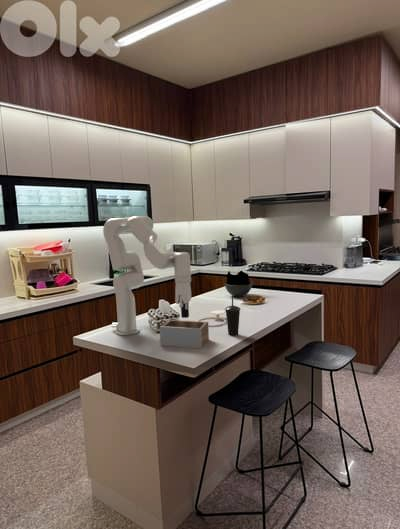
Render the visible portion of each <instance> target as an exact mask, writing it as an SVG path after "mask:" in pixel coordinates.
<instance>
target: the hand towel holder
mask: <svg viewBox="0 0 400 529" xmlns="http://www.w3.org/2000/svg"><path fill="white" fill-rule="evenodd" d="M210 313H211V314H212V315H216V316H207V317H202V318H198V319H197V320H196V321H200V322H202V321H204V320H209V319H214V320H221V321H223V322H222V323H217V324H208V328H215V327H221V326H223V325H225V324H226V323H227V319H225V318H223V317H220V316H221V315H223V314H225V310H222V309H221V310H219V309H217V310H212V311H210Z"/></svg>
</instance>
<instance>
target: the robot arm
mask: <svg viewBox="0 0 400 529" xmlns="http://www.w3.org/2000/svg"><path fill="white" fill-rule="evenodd" d="M153 229H154V222H153V219H152V218H151V217H149V216H147V215H136V216H131V217H114V218H109V219H108V220H107V221H105V223H104V225H103V227H102V231H103V237H104V240H105V242H106V245H107V249H108V254H109V258H110V262H111V266H112V268H113V269H114V270H115V271H124V272H121V273H118V274H117V275H115V276H114V278H113V279H112V280H113V281H112V283H113V290H114V293H115V302H116V314H117V315H116V316H117V322H112V323H111V328H113V329H114V328H115V331H114V332H115V334H116V335H120V336H129V335H134V334H137V333H138V332H140V327H138V326H137V314H136V298H135V295H134V293H133V292H132V290H134V289H139V288H140V287H142V286H143V285H144V282H145V277H144V271H143V267H142V263H141V260H140V257H139V254H137V252H136V251H133V250H127V249H126V246H125V242H124V240H123V239H122V238H121V236H120V235H128V234H132V235H133V236H134V237H135V239H137V240H138V242H139V243H140V244H141V245H142V246H143V252H144V256H145V258H146V260H148V261H149V263H150V264H151V265H152V266H153V267H155V268H156V269H157V270H166V269H170V268H171V269H172V268H174V282H175V283H174V284H175V297H174V298H175V304H176V305H178V304H179V306H178V307H179V308H180V312H181V313H180V314H181V318H186V319H187V318H189V317H190V312H189V310H190V309H189V308H190V301H191V300H192V288H191V282H192V272H191V271H192V270H191V268H192V267H191V257H190V253H189V252H186V251H182V252H181V251H179V252H177V251H165V252H160V250H158V249H157V247H156V246H155V243H156V241H157V240H158V234H157V233H156V232H155V231H154V230H153ZM125 270H127V271H125Z"/></svg>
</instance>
